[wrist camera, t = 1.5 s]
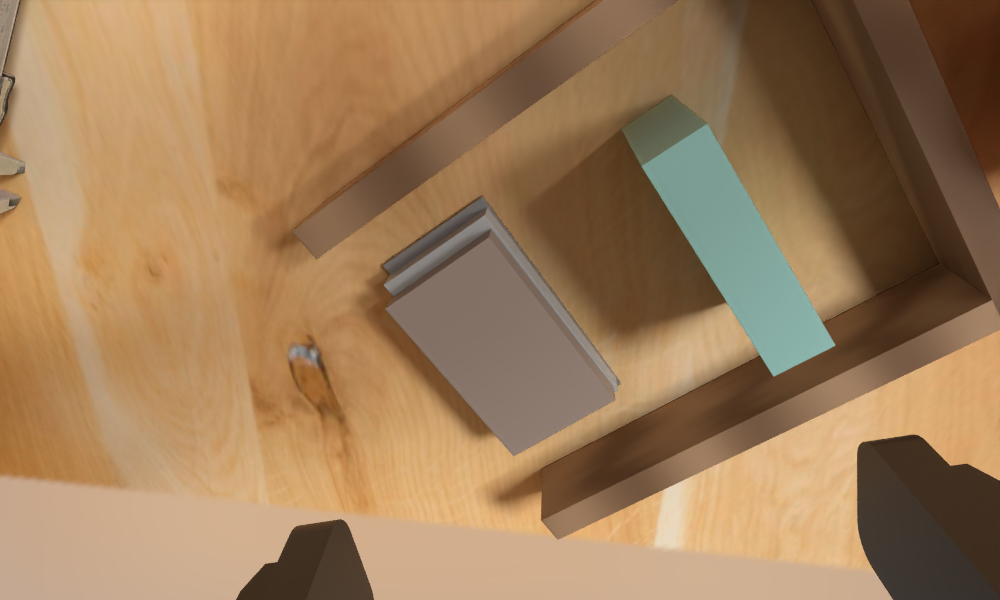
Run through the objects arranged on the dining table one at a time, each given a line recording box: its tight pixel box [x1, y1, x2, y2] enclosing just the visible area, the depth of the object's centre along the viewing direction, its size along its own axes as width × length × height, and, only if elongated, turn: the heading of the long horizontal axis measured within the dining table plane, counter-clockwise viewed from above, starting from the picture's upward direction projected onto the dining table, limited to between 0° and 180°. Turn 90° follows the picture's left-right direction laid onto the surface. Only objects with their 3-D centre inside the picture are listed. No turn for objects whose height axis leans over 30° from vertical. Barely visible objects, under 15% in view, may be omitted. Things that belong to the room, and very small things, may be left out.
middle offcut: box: [384, 207, 618, 392], centre depth 32 cm, size 6×11×1 cm, turn 36°
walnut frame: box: [293, 0, 1000, 539], centre depth 29 cm, size 24×20×4 cm
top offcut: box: [385, 229, 615, 456], centre depth 31 cm, size 6×10×1 cm, turn 37°
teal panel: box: [621, 95, 836, 376], centre depth 27 cm, size 2×10×7 cm, turn 36°
